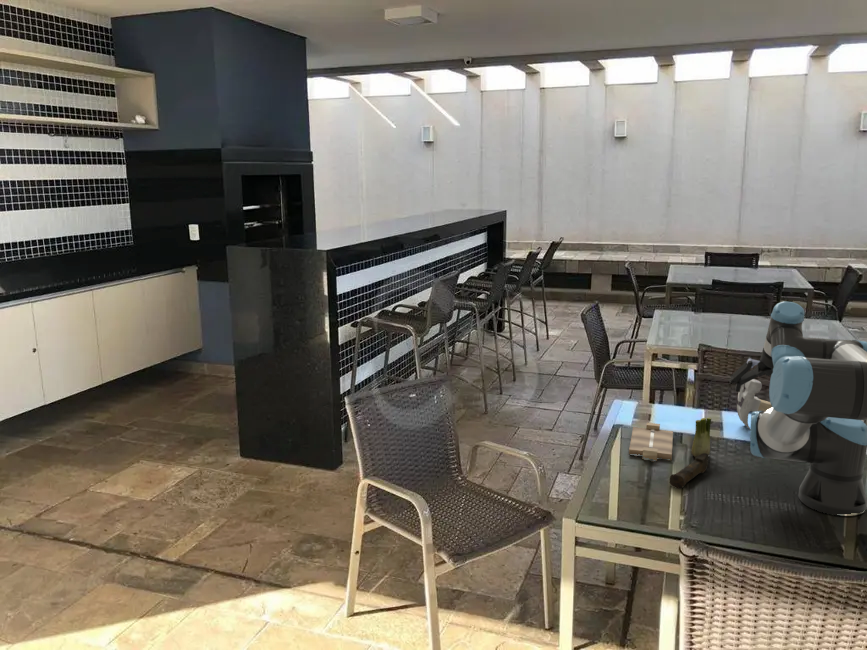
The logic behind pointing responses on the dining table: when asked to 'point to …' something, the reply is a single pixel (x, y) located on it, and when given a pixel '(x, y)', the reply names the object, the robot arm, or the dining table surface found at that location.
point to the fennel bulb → (701, 437)
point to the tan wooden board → (651, 442)
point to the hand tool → (689, 471)
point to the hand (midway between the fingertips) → (764, 401)
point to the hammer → (751, 401)
